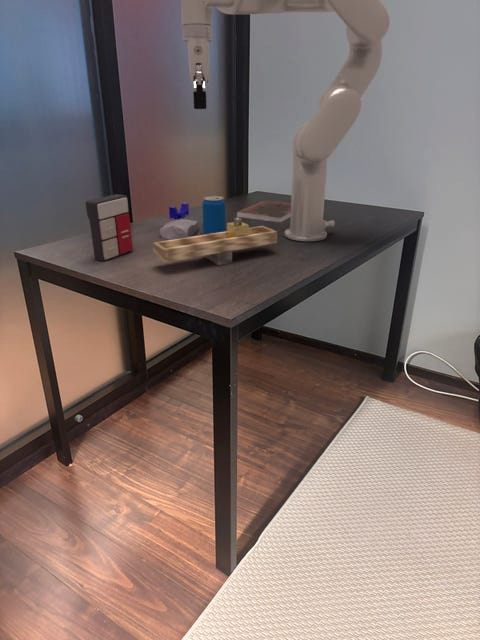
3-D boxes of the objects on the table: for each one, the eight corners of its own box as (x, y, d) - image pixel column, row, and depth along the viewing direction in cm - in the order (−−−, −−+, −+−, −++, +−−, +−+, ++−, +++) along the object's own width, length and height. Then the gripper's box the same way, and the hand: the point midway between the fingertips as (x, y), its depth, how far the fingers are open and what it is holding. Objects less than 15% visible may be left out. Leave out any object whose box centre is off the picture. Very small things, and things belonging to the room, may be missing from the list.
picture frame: (280, 224, 159) (304, 211, 176) (280, 217, 158) (305, 204, 175) (236, 218, 166) (264, 206, 183) (236, 211, 165) (264, 199, 182)
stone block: (158, 244, 142) (190, 240, 140) (154, 228, 141) (186, 223, 138) (172, 235, 153) (201, 231, 150) (168, 220, 151) (198, 215, 149)
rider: (240, 236, 127) (240, 215, 125) (248, 240, 124) (248, 219, 122) (227, 238, 125) (226, 217, 123) (235, 242, 122) (235, 221, 120)
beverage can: (228, 237, 143) (228, 196, 137) (220, 243, 137) (220, 200, 132) (208, 235, 144) (207, 194, 139) (200, 241, 139) (198, 199, 134)
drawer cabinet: (104, 262, 122) (97, 203, 115) (93, 259, 124) (84, 201, 117) (135, 251, 130) (129, 195, 124) (123, 248, 132) (117, 193, 126)
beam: (261, 246, 134) (261, 224, 132) (277, 254, 128) (278, 231, 125) (153, 265, 120) (151, 241, 117) (166, 275, 114) (164, 250, 111)
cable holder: (177, 220, 162) (177, 208, 160) (169, 218, 163) (169, 207, 162) (192, 215, 168) (191, 204, 166) (184, 214, 170) (184, 202, 168)
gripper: (213, 30, 113) (215, 109, 121) (211, 37, 129) (213, 107, 136) (181, 30, 113) (185, 109, 120) (183, 37, 128) (186, 107, 136)
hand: (200, 108), depth 128 cm, fingers open, 9 cm apart
